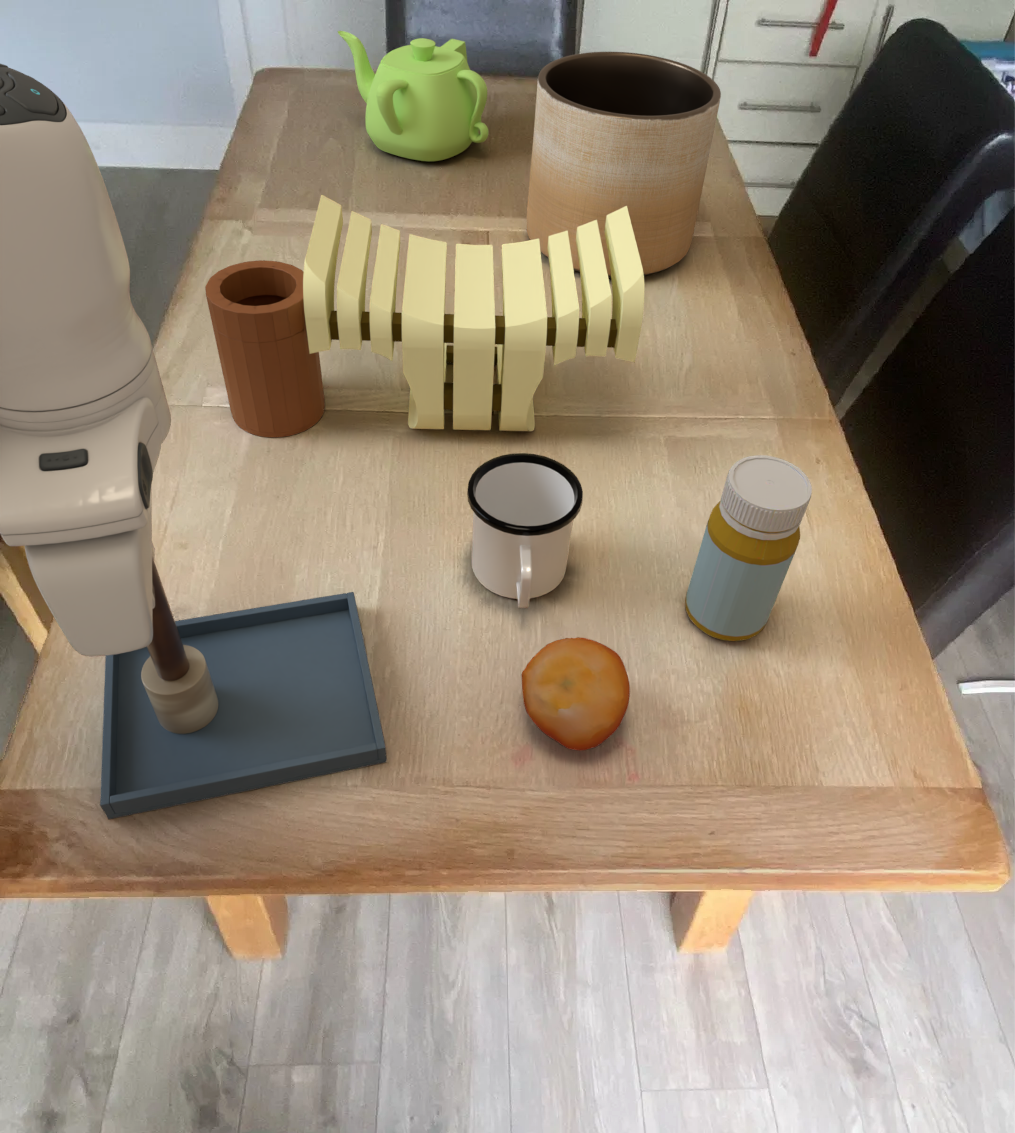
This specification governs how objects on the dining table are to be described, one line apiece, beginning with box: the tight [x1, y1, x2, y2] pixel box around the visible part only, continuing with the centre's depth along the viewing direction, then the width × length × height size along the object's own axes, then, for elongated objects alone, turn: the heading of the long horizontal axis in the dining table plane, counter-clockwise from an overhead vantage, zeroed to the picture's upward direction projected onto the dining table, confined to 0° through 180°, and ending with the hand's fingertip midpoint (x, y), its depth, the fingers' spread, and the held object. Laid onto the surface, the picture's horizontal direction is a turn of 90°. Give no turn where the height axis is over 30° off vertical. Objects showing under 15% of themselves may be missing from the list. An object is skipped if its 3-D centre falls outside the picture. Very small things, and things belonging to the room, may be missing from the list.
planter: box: [526, 51, 722, 278], centre depth 114 cm, size 22×22×20 cm
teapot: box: [337, 30, 489, 162], centre depth 135 cm, size 19×20×14 cm
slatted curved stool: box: [303, 194, 645, 432], centre depth 90 cm, size 30×16×18 cm, turn 92°
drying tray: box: [99, 591, 388, 820], centre depth 68 cm, size 19×15×2 cm
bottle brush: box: [141, 556, 218, 734], centre depth 61 cm, size 4×4×19 cm
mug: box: [466, 452, 584, 609], centre depth 76 cm, size 12×10×9 cm
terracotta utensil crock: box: [204, 259, 326, 438], centre depth 88 cm, size 9×9×14 cm
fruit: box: [521, 636, 631, 751], centre depth 67 cm, size 8×8×8 cm
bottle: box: [684, 454, 813, 642], centre depth 72 cm, size 7×7×15 cm
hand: (141, 582), depth 57 cm, fingers closed on bottle brush, 2 cm apart
